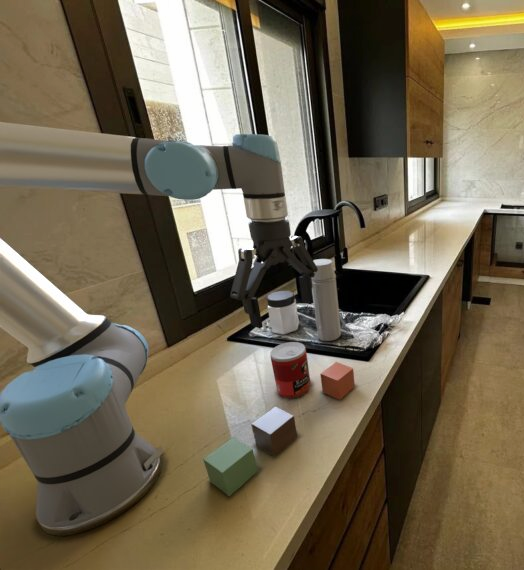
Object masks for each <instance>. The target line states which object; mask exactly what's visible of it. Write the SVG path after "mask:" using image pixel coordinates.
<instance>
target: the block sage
mask: <svg viewBox="0 0 524 570" xmlns="http://www.w3.org/2000/svg"><path fill="white" fill-rule="evenodd" d="M202 460H203V463H204V467H205V469H206V470H205V471H206V472H207V476H208V479H209V483H211V484H212V485H214V486H215V487H216V488H218V489H219V490H220V491H221V492H222V493H224V494H226V495H227V496H229V497H231V496H232V495H233V494H234V493H235V492H236V491H237V490H239V488H241V487H242V486H243V485H245V483H247V482H248V481H249V480H250V479H251V478H252V477H253V476H254V475H256V474H257V473H258V472H259V469H258V464H257V460H256V456H255V452H254V448H252V447H251V446H250V445H247V444H246V443H244V442H243V441H241V440H240V439H238V438H236V437H234V436H233V437H231V438H230V439H229V440H227V441H226V442H224V443H223V444H222V445H220V446H219V447H217V448H216V449H214V450H213V451H212V452H211V453H209V454H208V455H207V456H205V457H204V458H203V459H202Z"/></svg>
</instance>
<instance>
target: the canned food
mask: <svg viewBox="0 0 524 570" xmlns="http://www.w3.org/2000/svg"><path fill="white" fill-rule="evenodd" d="M270 362H271V366H272V371H273V376H274V381H275V387H276V390H277V393H278V394H279V395H280V396H281V397H283V398H290V399H292V398H297V397H300V396H302V395H304V394H306V393H307V392H308V391H309V389H310V387H311V377H310V376H311V375H310V369H309V363H308V356H307V349H306V346H305V345H304V344H303V343H301V342H298V341H289V342H288V341H287V342H284V343H280V344H278V345H276V346H275V347H273V348H272V349H271V350H270Z"/></svg>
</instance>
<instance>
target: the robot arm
mask: <svg viewBox="0 0 524 570" xmlns="http://www.w3.org/2000/svg"><path fill="white" fill-rule="evenodd" d="M231 144H232V145H230V144H229V145H205V144H203V145H202V144H193V143H191V142H188V141H182V140H174V139H173V140H171V139H170V140H164V139H163V140H162V139H155V138H143V137H135V136H129V135H119V134H111V133H101V132H92V131H84V130H76V129H67V128H57V127H48V126H42V125H41V126H40V125H32V124H31V125H30V124H22V123H14V122H4V121H0V188H5V189H7V188H8V189H24V190H25V189H26V190H43V191H44V190H45V191H46V190H47V191H48V190H49V191H65V192H66V191H67V192H88V193H108V194H110V193H111V194H130V195H147V196H161V197H170V198H173V199H176V200H181V201H186V200H187V201H188V200H189V201H190V200H191V201H192V200H199V199H201V198H204V197H206V196H207V195H208V194H210V193H211V192H213V190H214V191H215V190H237V189H238V190H239V189H241V191H242V196H243V203H244V208H245V214H246V218H247V219H249V221H248V222H247V223H248V229H249V235H250V238H251V241H252V242H253V246H252V248H243V247H240V248H238V250H237V252H238V262H237V267H236V270H235V274H234V278H233V283H232V285H231V291H230V294H229V296H230V298H232V299H234V300H238V301H242V305H243V311H244V314H247V315H248V316H249V321H250V325H251V327H254V328H258V329H262V328H264V325H263V320H262V315H261V310H260V304H259V300H258V297H255V294H256V292H257V291H258V289H259V286H260V285H261V283H262V282H261V281H262V280H263V278H264V276H265V274H266V272H267V270H269V269H270V267H271V266H276V265H277V264H280V263H281V264H282V263H285V262H287V263H288V264H289V265H290V266H291V267H292V268H293V269H294V270H295V271H297V272H298V273H299V274H300V276H298V282H299V289H300V296H301V302H302V303H305V304H308V305H313V304H314V301H313V294H312V278H311V277H314V276H315V273H314V272H317V271H318V268H317V266H316V265H315V263H314V261H313V260H314V259H313V258H312V256H311V255H310V252H309V251H308V250H307V248H306V247H305V243H304V239H303V237H302V236H299V235H298V236H297V235H292V232H291V231H292V230H291V225H290V220H289V219H288V218H287V217H288V216H289V212H288V205H287V197H286V193H285V192H286V191H285V183H284V175H283V168H282V160H281V156H280V152H279V147H278V142H277V140H276V139H275V138H274V137H273V136H272V135H268V134H258V133H257V134H256V133H255V134H254V133H250V134H249V133H236V134H233V136H232V143H231ZM291 235H292V236H291ZM292 248H293V250H294V252H295V253H296V254H297V256H298V258H299V259H300V260H299V259H298V258H297V256H296V255H295V254H294V253H293V252H292V251H291V250H292ZM253 259H255V260H253ZM0 328H1V329H2V330H3V331H5V332H6V333H8V334H9V335H10V336H12V337H13V338H14V339H16V341H18V342H20V343H21V344H22V345H24V346H25V347H26V348H27V349H28V350H27V356H26V362H27V364H29V365H31V366H32V367H34V368H33V370H31V371H25V372H23V373H21V374H19V376H18V375H17V377H15V378H14V379H12V380H11V381H10V382H9V383H8V384H7V385H6V386H5V387H4V388H3V389H2V391H1V392H0V425H1V427H2V429H3V431H4V432H5V433H7V434H8V435H9V437H10V438H11V440H12V442H13V443H14V445H15V447H16V449H17V450H18V452H19V453H20V455H21V456H22V458H23V460H24V461H25V463H26V464H27V466H28V468H29V469H30V472H31V473H32V474H33V476H34V478H35V480H36V481H37V490H36V510H35V518H36V520H37V522H38V524H39V525H40V527H41V529H42V530H43V531H44V532H46V534H49V535H53V536H71V535H76V534H79V533H84V532H87V531H90V530H92V529H95V528H97V527H100V526H102V525H103V524H106V523H107V522H110V521H111V520H113V519H115V518H117V517H118V516H119V515H121V514H123V513H124V512H125V511H127V510H128V509H130V508H131V507H133V506H134V505H135V504H136V503H137V502H139V501H140V500H141V499H142V498H144V496H145V495H146V494H147V493H148V492H149V491H150V490H151V488H152V487H153V486H154V485H155V484H156V482H157V480H158V479H159V478H160V474H161V473H162V469H163V461H162V458H161V455H162V454H163V453H164V450H163V447H162V445H160V446H159V447H158V448H155V446H153V445H152V444H150V443H149V442H148V441H147V440H146V439H144V437H143V438H142V436H141V435H139V434H137V433H136V430H135V429H134V426H133V424H132V420H131V419H130V418H131V417H130V416H129V414H128V411H127V407H126V404H127V402H128V400H129V398H130V396H131V395H132V392H133V390H134V389H135V386H136V384H137V382H138V380H139V378H140V376H141V375H142V374H143V373H144V371H145V369H146V367H147V363H148V358H149V352H150V350H149V345H148V342H147V340H146V338H145V337H144V336H143V335H142V333H141V332H139V331H138V330H136V329H135V328H133V327H132V326H128V325H125V324H122V325H121V324H118V323H114V322H112V321H111V320H110V319H108V318H107V317H106V316H105V315H104V314H103V315H102V314H90V313H86V312H85V311H84V310H83V308H81V307H80V306H79V305H77V303H76V302H74V301H73V300H72V299H71V298H69V296H67V295H66V294H65V293H64V292H63V291H61V289H59V288H58V287H57V286H56V285H55V284H53V283H52V282H51V281H50V280H49V279H48V278H47V277H45V276H44V275H43V274H42V273H41V272H39V270H38V269H36V268H35V267H34V266H33V265H32V264H31V263H29V262H28V261H27V260H26V259H25V258H24V257H23V256H21V254H19V253H18V252H17V251H16V250H15V249H13V248H12V247H11V246H10V245H9V244H8V243H7V242H6V241H4V240H3V239H2V238H1V237H0Z"/></svg>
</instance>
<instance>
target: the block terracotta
mask: <svg viewBox="0 0 524 570" xmlns="http://www.w3.org/2000/svg"><path fill="white" fill-rule="evenodd" d="M320 382H321V383H320V384H321V389H322V393H324V394H325V395H328V396H330V397H332V398H335V399H337V400H341V399H343V397H345V396H347V394H348V393H350V392H351V390H353V389H354V388H355V387H356V384H355V383H356V381H355V371H354V367H351V366H348V365H346V364H343V363H340V362H338V361H335V362H333V364H332V365H330V366H329V367H327V368H325V370H323V371H322V372H320Z"/></svg>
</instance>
